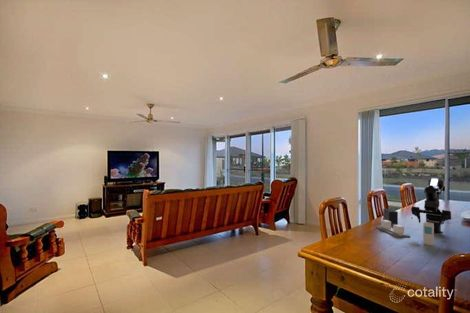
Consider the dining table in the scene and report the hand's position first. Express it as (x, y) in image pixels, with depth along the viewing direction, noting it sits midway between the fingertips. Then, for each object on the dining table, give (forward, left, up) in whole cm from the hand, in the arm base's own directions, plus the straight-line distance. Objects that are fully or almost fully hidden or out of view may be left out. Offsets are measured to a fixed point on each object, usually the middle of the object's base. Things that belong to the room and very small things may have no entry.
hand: (429, 224), depth 140 cm
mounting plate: (+7, -20, -11) cm, 24 cm away
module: (+3, +2, -11) cm, 11 cm away
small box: (-9, -39, -11) cm, 41 cm away
